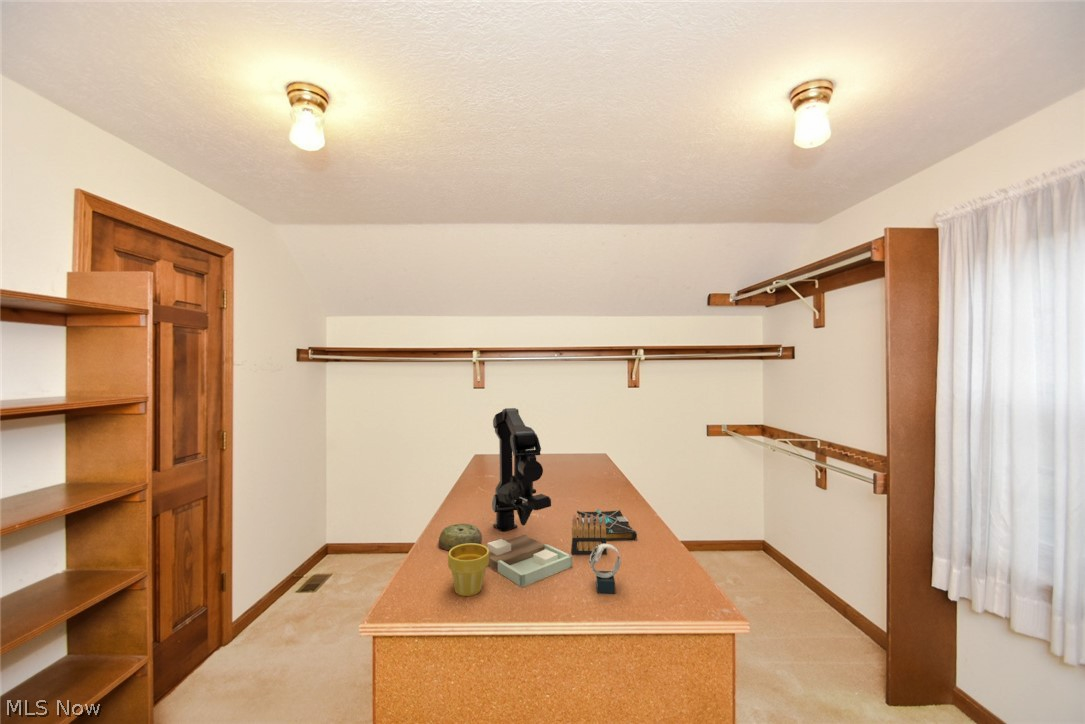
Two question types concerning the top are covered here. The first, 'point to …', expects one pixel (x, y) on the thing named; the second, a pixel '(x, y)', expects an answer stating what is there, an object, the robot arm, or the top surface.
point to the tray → (535, 568)
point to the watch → (604, 578)
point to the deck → (516, 551)
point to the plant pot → (468, 567)
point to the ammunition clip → (587, 535)
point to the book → (612, 524)
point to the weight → (459, 535)
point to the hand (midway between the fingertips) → (523, 524)
